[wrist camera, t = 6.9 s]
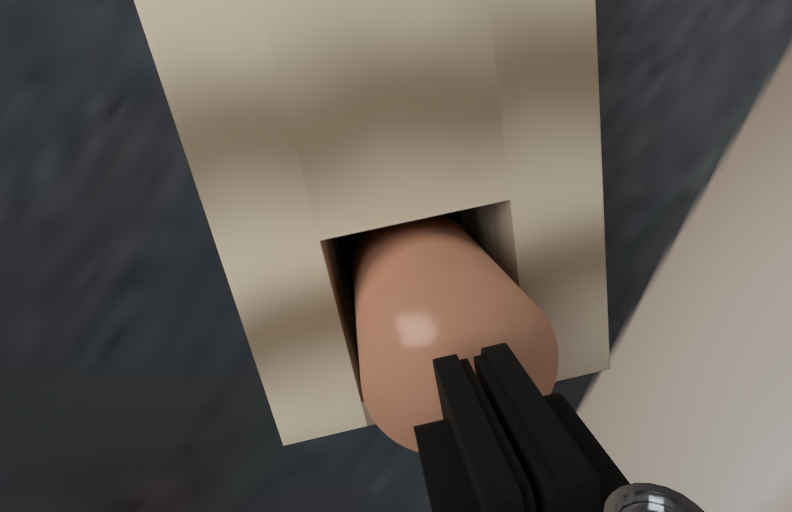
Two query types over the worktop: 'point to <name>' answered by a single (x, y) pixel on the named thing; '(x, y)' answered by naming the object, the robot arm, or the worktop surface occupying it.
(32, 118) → the worktop surface
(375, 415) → the terracotta plug
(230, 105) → the birch plug console
